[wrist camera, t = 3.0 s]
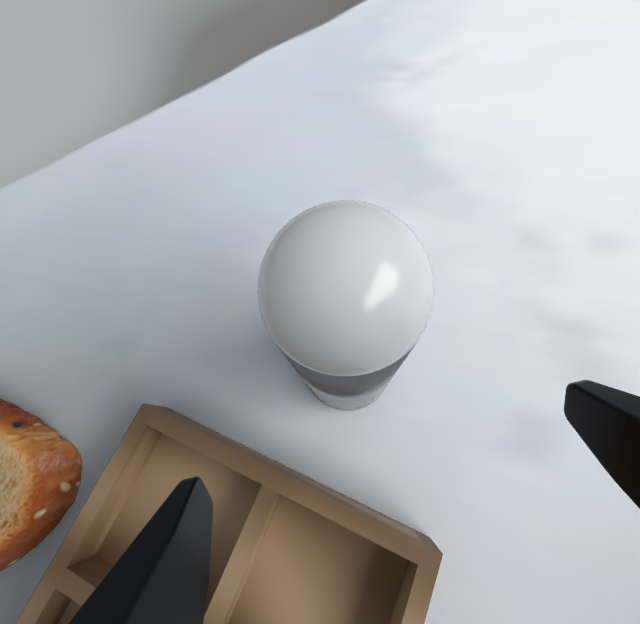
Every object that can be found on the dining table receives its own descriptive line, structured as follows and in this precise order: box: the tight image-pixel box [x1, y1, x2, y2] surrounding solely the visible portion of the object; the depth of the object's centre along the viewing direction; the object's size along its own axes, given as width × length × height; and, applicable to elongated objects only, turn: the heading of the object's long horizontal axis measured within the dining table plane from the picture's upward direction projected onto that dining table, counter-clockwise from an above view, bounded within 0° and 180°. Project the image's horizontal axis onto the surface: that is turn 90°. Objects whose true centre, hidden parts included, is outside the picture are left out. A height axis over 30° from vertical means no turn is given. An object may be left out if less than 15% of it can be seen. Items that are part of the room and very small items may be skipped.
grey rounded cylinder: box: [257, 200, 435, 410], centre depth 14 cm, size 5×5×13 cm
